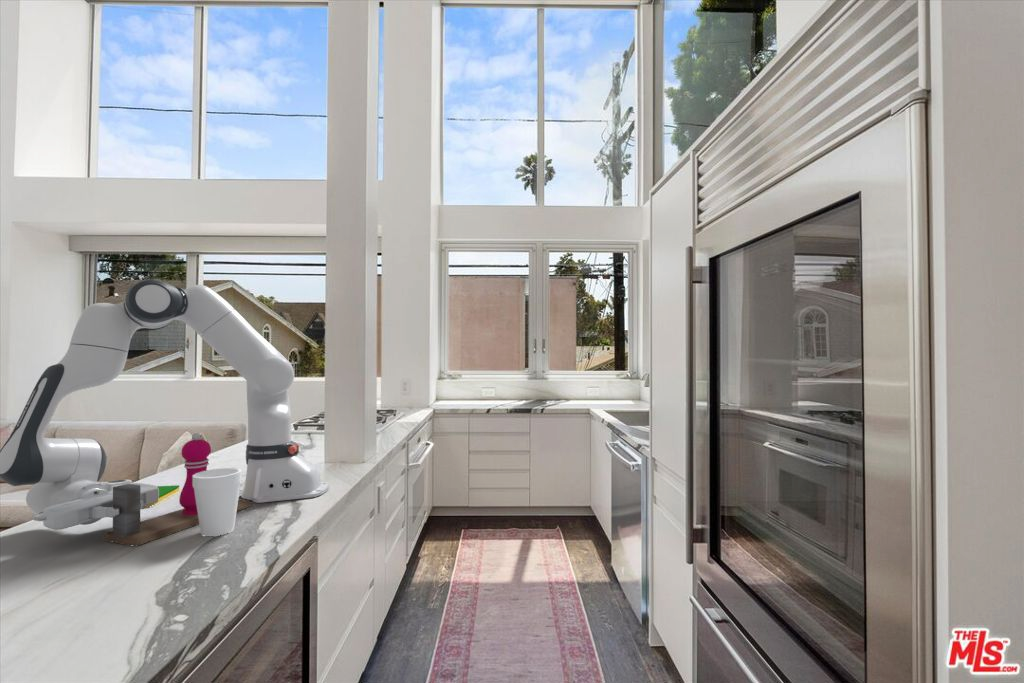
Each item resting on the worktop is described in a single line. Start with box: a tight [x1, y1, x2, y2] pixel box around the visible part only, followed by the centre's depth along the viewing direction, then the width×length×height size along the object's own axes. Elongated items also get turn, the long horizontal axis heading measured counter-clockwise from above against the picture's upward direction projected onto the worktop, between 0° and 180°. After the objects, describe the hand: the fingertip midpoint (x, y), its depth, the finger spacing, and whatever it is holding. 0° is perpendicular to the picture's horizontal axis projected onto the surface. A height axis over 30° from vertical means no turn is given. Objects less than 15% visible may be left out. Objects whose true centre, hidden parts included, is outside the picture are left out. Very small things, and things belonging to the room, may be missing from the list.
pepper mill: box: [179, 433, 212, 515], centre depth 122 cm, size 7×7×20 cm
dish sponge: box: [147, 484, 180, 506], centre depth 138 cm, size 7×14×2 cm, turn 9°
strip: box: [103, 484, 251, 547], centre depth 119 cm, size 28×10×12 cm, turn 159°
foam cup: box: [193, 467, 243, 537], centre depth 113 cm, size 10×9×13 cm
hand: (128, 509), depth 107 cm, fingers open, 3 cm apart
